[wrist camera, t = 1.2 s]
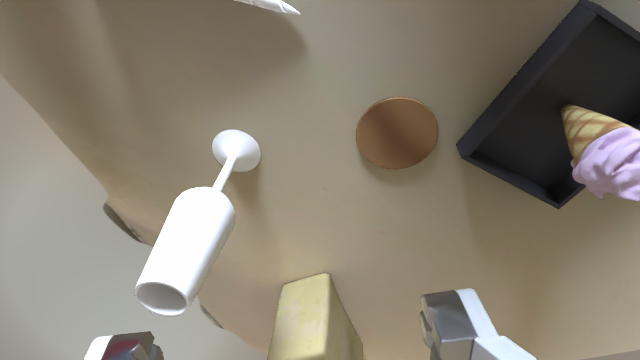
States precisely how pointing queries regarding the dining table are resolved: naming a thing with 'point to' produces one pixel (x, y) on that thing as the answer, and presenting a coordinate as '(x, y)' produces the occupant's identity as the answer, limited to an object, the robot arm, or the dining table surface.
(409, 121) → the coaster
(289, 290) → the cheese
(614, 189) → the ice cream cone
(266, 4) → the unicorn horn
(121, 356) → the robot arm
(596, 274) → the dining table surface
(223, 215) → the champagne flute
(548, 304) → the dining table surface
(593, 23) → the tray
